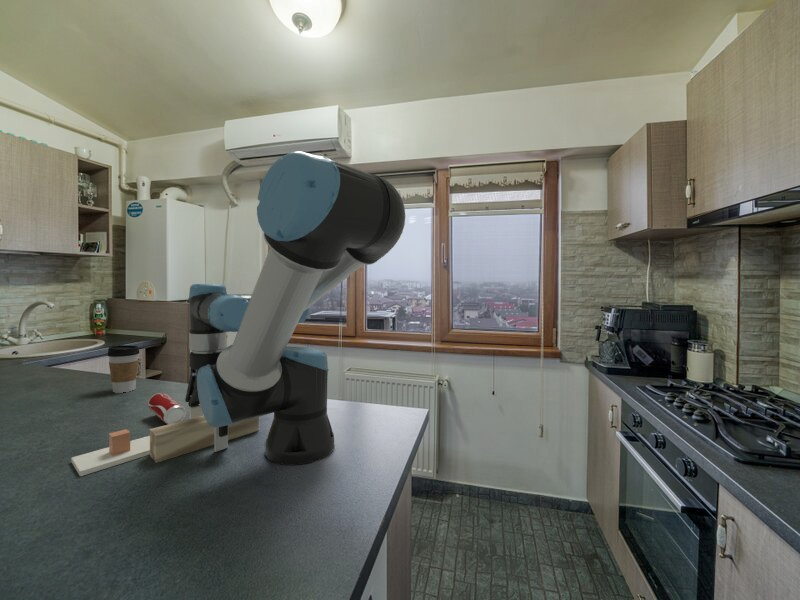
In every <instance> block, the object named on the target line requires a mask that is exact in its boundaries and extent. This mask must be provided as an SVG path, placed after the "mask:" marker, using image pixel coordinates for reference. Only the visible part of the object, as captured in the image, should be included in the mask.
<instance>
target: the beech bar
mask: <svg viewBox="0 0 800 600" xmlns="http://www.w3.org/2000/svg"><path fill="white" fill-rule="evenodd" d="M259 418H260V417H256V418H253V419H249V420H246V421H242V422H239V423H235V424H233V425H228V441H230V440H233V439H237V438H240V437H243V436H245V435H249V434H252V433H255V432H259V430H260V429H259V428H260V427H259V423H260V421H259V420H260V419H259ZM149 436H150V455H149V456H150V458H151V459H152V460H153V461H154V462H155V464H156V463H160V462H162V461H163V462H164V461H166V460H170V459H172V458H175V457H179V456H182V455H185V454H188V453H189V454H190V453H192V452H195V451H198V450H202V449H205V448H208V447H211V446H214V427H212V426H211V425H210V424H209V423H208V422H207V421H206V419H205V417H204V415H203V416H201V417H197V418H193V419H190V418H188V419H185V420H183V421H181V422H177V423H173V424H169V425H167V424H166V425H162V426H161V425H160V426H157V427H154V428H149Z"/></svg>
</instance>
